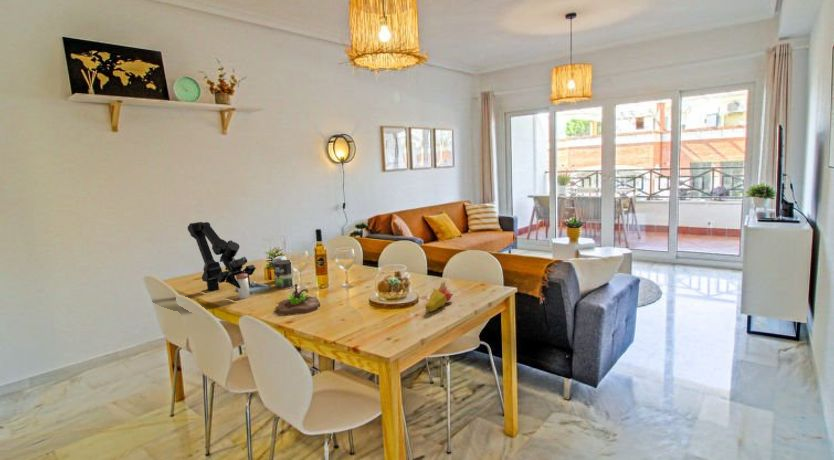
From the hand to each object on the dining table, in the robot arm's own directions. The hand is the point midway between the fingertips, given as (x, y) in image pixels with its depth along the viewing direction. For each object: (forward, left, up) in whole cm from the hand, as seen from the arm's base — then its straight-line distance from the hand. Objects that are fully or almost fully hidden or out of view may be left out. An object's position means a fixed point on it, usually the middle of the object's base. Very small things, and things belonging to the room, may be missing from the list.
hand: (244, 286), depth 232 cm
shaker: (-1, 0, -7) cm, 7 cm away
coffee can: (0, +24, -7) cm, 25 cm away
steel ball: (-15, +15, -6) cm, 22 cm away
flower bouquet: (+91, +38, -7) cm, 99 cm away
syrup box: (-11, +30, -7) cm, 33 cm away
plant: (+35, +5, -7) cm, 36 cm away
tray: (-10, +11, -7) cm, 17 cm away
